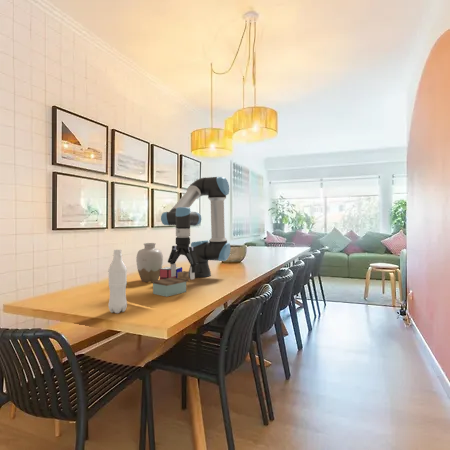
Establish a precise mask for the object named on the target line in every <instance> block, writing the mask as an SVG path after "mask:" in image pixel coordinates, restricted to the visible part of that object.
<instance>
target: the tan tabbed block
mask: <svg viewBox="0 0 450 450" xmlns="http://www.w3.org/2000/svg"><path fill="white" fill-rule="evenodd" d="M189 280H190V276H189V272H188V271H185V270H182V272H177V278H174V277H172V278H166V279H161V280H160V279H158V280H156V281H152V282H151V283H152V284H153V283H154V284H159V285H165V286H169V285H173V284H178V283H183V282H186V283H187V282H189Z"/></svg>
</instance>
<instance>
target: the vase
mask: <svg viewBox="0 0 450 450" xmlns="http://www.w3.org/2000/svg"><path fill="white" fill-rule="evenodd" d="M143 245H144V248H142V249H139V250H138V251H137V253H136V258H135V259H136V267H137V272H138V273H137V274H138V275H139V278H140V280H141V282H144V283H152V281H156V280H160V269H161V268H163V263H164V256H163V252H162V250H161V249H159V248H156V243H155V242H147V243H146V242H145V243H143Z"/></svg>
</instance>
